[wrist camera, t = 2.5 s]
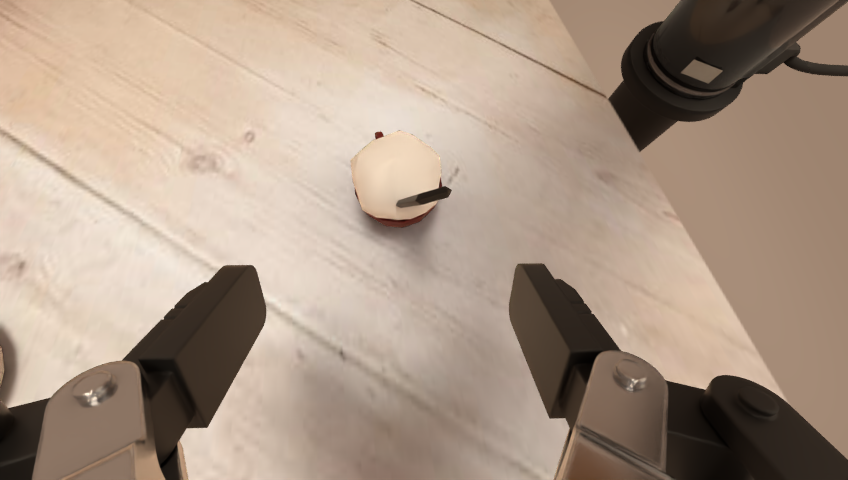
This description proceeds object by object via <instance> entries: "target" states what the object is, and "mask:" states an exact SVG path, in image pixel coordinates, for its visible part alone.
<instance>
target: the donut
mask: <svg viewBox="0 0 848 480" xmlns="http://www.w3.org/2000/svg"><path fill="white" fill-rule="evenodd" d="M3 374H4V363H3V352H2V348H1V346H0V387H1V383H2V378H3Z"/></svg>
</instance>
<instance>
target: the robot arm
mask: <svg viewBox="0 0 848 480" xmlns="http://www.w3.org/2000/svg"><path fill="white" fill-rule="evenodd" d="M847 2H848V0H681V1H680V2H679V3H678V4H677V6H676V7H675V8H674V10H673V11H672V12H671V13H670V15H669V16H668V17H667V18H666V20H665V21H664V22H663V23H662V25H661V26H660V27H659V28H658V29H656V30H655V32H654V33H653V34H652V35H651V37H650V38H649V39H648V40H647V42H646V44H645V46H644V50H643V59H644V63H645V66H646V68H647V70H648V72H649V73H650V75H651V76H652V77H653V79H654V80H655V81H656V82H657V83H658V84H659V85H661V86H662V87H663V88H665V89H666V90H668V91H669V92H671V93H673V94H675V95H678V96H680V97H683V98H687V99H692V100H708V99H712V98H715V97H718V96H720V95H721V94H723V93H724V92H725V91H726V90H728V89H729V88H737V87H738V86H739V85H741V84H742V83H743V82H745V81H746V80H747V79H749V78H750V77H751V76H752V75H753V74H768V73H769V72H771V71H772V70H773V69H775V68H776V67H777V66H779V65H780V64H782V63H784V64H785V65H787V66H788V67H790V68H792V69H794V70H797V71H800V72H804V73H809V74H817V75H829V76H830V75H831V76H848V66H844V65H826V64H817V63H812V62H808V61H804V60H802V59H800V58H799V57H797V56H798V54H799V53H800V46H799V45H798V44H797V43H796V41H798V40H799V39H800V38H801V37H803V36H804V35H805V34H807V33H808V32H809V31H811V30H812V29H813V28H815V27H816V26H817V25H818V24H820V23H821V22H822V21H824V20H825V19H826V18H827V17H829V16H830V15H831V14H833V13H834V12H835V11H837V10H838V9H839V8H840V7H842V6H843V5H844V4H846V3H847ZM509 315H510V321H511V324H512V326H513V329H514V331H515V334H516V336H517V339H518V341H519V344H520V346H521V349H522V351H523V354H524V356H525V359H526V361H527V364H528V366H529V369H530V371H531V374H532V376H533V379H534V381H535V384H536V386H537V389H538V391H539V394H540V396H541V399H542V401H543V404H544V406H545V409H546V411H547V413H548V416H549V418H550V419H551V418H566V421H567V423H568V425H569V427H570V429H569V432H568V434H567V437H566V441H565V444H564V447H563V450H562V454H561V457H560V460H559V463H558V467H557V470H556V473H555V476H554V479H553V480H848V460H847V459H846V458H845V457H844V456H843V455H842V454H841V453H840V452H839V451H838V450H837V449H836V448H835V447H834V446H833V445H831V444H830V443H829V442H828V441H827V440H826V439H825V438H824V437H823V436H822V435H821V434H820V433H819V432H818V431H817V430H816V429H814V428H813V427H812V426H811V425H810V424H809V423H808V422H807V421H806V420H805V419H804V418H803V417H802V416H801V415H799V413H798V412H797V411H795V410H794V409H793V408H792V407H791V406H790V405H789V404H788V403H787V402H786V401H784V400H783V399H782V398H780V397H779V396H778V395H776V394H775V393H773V392H772V391H770V390H768V389H767V388H765V387H763V386H761V385H759V384H757V383H755V382H752V381H750V380H747V379H744V378H741V377H736V376H730V375H721V376H717V377H715V378H714V379H713V380H712V381H711V383H710V384H709V386H708V387H707V389H706V390H704V389H699V388H695V387H691V386H687V385H682V384H678V383H674V382H670V381H666V380H665V379H664V378H663V376H662V375H661V374H660V373H659V372H658V371H657V370H656V369H655V368H654V367H653V366H652V365H651V364H649V363H648V362H646V361H645V360H643V359H641V358H639V357H637V356H635V355H633V354H630V353H627V352H623V351H621V350H620V349H619V348H618V346H617V345H616V344H615V342H614V341H613V340H612V338H611V337H610V336H609V334H608V333H607V332H606V330H605V329H604V328H603V326H602V325H601V324H600V322H599V321H598V319H597V318H596V317H595V315H594V314H592V313H591V310H590V309H589V307H588V306H587V305H586V304H584V301H583V299H582V298H581V297H580V295H579V294H578V293H577V291H576V290H575V289H574V288H572V287H571V286H570V285H568V284H567V283H565V282H564V281H563V280H561V279H554V278H553V276H552V275H551V273H550V272H549V271H548V269H547V268H546V266H545V265H544V264H542V263H538V264H518V265H517V266H516V269H515V274H514V279H513V285H512V291H511V296H510V302H509ZM265 319H266V305H265V301H264V297H263V293H262V289H261V286H260V282H259V278H258V274H257V271H256V269H255V267H254V266H252V265H226V266H223V267H222V268H221V269H220V270H219V271H218V272H217V273H216V274H215V275H214V276H213V277H212V279H211V280H210V281H209V282H204V283H203V284H201V285H200V286H198V287H196V288H195V289H193V290H191V291H190V292H188V293H187V294H186V295H185V296H184V297H183V298H182V299H181V300H180V301H179V302H178V303H177V304H176V305H175V308H174V309H171V310H170V311H169V312H168V313H167V314H166V315H165V316H164V320H161V321H160V322H159V323H158V324H157V325H156V326H155V327H154V328H153V329H152V330H151V331H150V332H149V333H148V334H147V335H146V336H145V337H144V338H143V339H142V340H141V341H140V342H139V343H138V344H137V345H136V346H135V347H134V348H133V349H132V350H131V351H130V353H129V354H128V355H127V356H126V357H125V358H124V359H123V360H122V361H115V362H110V363H106V364H102V365H99V366H96V367H94V368H92V369H89V370H87V371H85V372H83V373H81V374H80V375H78V376H76V377H74V378H73V379H71V380H70V381H68V382H67V383H66V384H64V385H63V386H62V387H61V388H60V389H59V390H58V391H57V392H56V393H55V394H54V395H53V396H52V397H51V398H48V399H44V400H40V401H36V402H32V403H28V404H24V405H20V406H16V407H12V408H7V407H6V406H5V405H4V404H3V403H2V401H1V400H0V480H188V474H187V469H186V463H185V458H184V452H183V447H182V444H181V442H180V441H179V440H180V438H181V436H182V435H183V433H184V432H185V430H186V428H207V427H208V426H209V424H210V422H211V420H212V418H213V416H214V415H215V413H216V411H217V409H218V407H219V406H220V404H221V402H222V400H223V398H224V397H225V395H226V393H227V391H228V389H229V388H230V386H231V384H232V382H233V380H234V378H235V377H236V375H237V373H238V371H239V369H240V368H241V366H242V364H243V362H244V360H245V359H246V357H247V355H248V353H249V351H250V350H251V348H252V346H253V344H254V342H255V341H256V339H257V337H258V335H259V333H260V331H261V330H262V328H263V326H264V323H265Z"/></svg>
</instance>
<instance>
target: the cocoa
mask: <svg viewBox="0 0 848 480" xmlns="http://www.w3.org/2000/svg"><path fill="white" fill-rule="evenodd" d="M375 138H376V140H373V141H372V142H370V143H369V144H368V145H367V146H366V147H364V148H363V149H362V150H361V151H360V152H359V153H358V154H357V155H355V156H354V157H353V158H352V159H351V169H352V179H353V183H354V186H355V194H356V197H357V199H358V201H359V202H360V205H361V208H362V210H363V211H365V212H366V213H367V214H368V215H369V216H370V217H371V218H373V219H375V220H376V221H378V222H380V223H381V224H383V225H385V226H391V227H401V228H403V227H406V226H409V225H412V224H415V223H418V222H420V221H421V220H422V219H423V218H424V217H425V216H426V215H427V214H428V213H429V212H430V211H431V210H432V209H433V208H434V207H435V205H436V204H437V202H438V200H440V199H444V198H447V197H449V195H450V193H451V191H452V190H451V189H449V188H447V187H446V186H444V187H442V183H441V164H440V156H439V155H438V154H437V153H436V152H435V151H434V150H433V149H432V148H431V147H430V146H428V145H426V144H425V143H424V142H422V141H421V140H419V139H418V138H416V137H415V136H414V135H412V134H409V133H406V132H403V131H400V130H399V131H397V132H394V133H392V134H389V135H386V136H383V133H382V132H376V133H375Z"/></svg>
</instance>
